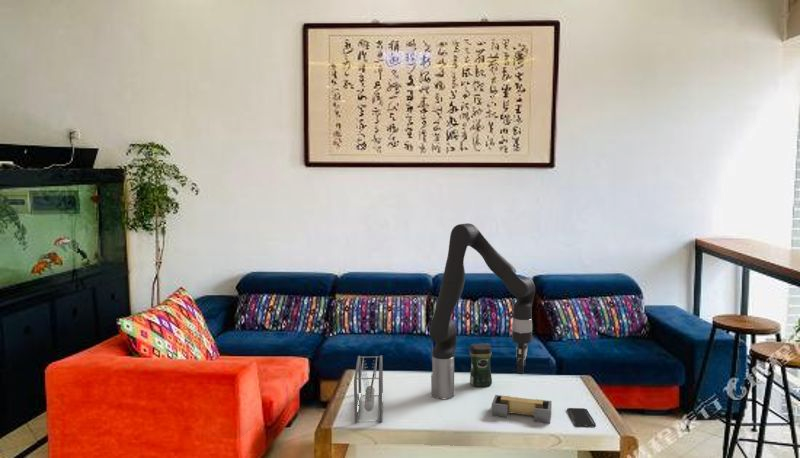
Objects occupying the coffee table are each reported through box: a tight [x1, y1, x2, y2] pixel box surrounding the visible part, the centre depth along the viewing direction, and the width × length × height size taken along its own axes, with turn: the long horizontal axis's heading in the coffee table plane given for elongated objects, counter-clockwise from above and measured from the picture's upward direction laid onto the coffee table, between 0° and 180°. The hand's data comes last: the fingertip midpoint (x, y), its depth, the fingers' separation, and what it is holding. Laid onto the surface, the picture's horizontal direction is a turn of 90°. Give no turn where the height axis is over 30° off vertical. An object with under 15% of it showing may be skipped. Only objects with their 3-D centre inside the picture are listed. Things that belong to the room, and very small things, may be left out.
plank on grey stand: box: [491, 394, 553, 424], centre depth 220 cm, size 22×10×5 cm, turn 72°
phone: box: [566, 407, 597, 428], centre depth 217 cm, size 8×1×15 cm
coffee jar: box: [469, 342, 493, 388], centre depth 252 cm, size 10×8×19 cm
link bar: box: [500, 395, 544, 416], centre depth 220 cm, size 16×4×5 cm, turn 71°
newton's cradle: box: [353, 355, 384, 423], centre depth 228 cm, size 30×10×18 cm, turn 1°
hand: (521, 370), depth 219 cm, fingers open, 8 cm apart
